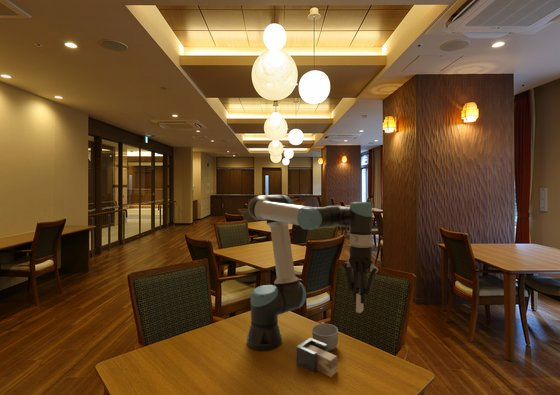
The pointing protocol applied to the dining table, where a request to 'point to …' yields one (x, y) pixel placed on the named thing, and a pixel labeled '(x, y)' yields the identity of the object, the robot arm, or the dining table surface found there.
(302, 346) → the end cap
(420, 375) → the dining table surface
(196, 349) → the dining table surface
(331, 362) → the beige marbled block
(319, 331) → the teacup
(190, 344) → the dining table surface
